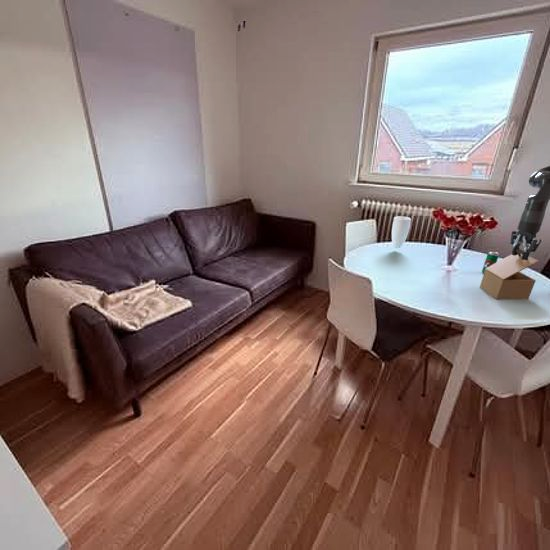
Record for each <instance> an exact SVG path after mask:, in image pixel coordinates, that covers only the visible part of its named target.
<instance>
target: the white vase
mask: <svg viewBox="0 0 550 550" xmlns="http://www.w3.org/2000/svg"><path fill="white" fill-rule="evenodd" d="M411 221H412V218H411V217H408V216H403V215H397V216H394V217H393V221H392V225H391V226H392V227H391V242H392V243H391V244H392V247H393V248H395V249H401V248H402V247H403V246H404V244H405V242H406V240H407V238H408V236H409V232H410V228H411Z"/></svg>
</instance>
